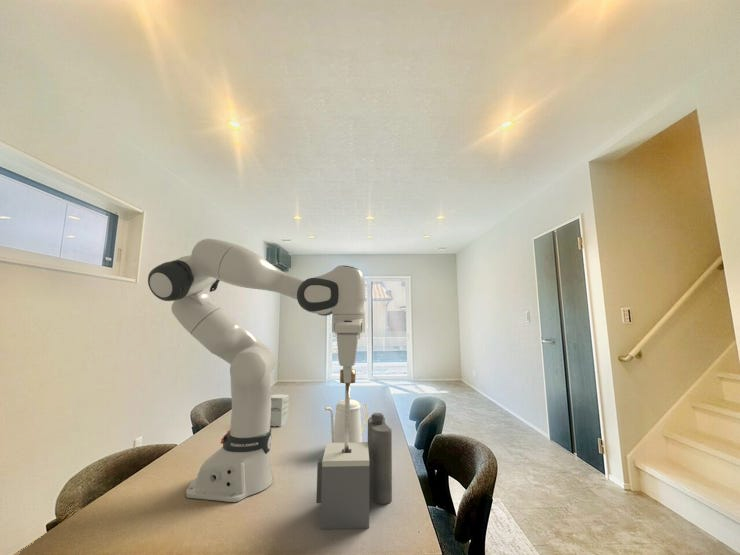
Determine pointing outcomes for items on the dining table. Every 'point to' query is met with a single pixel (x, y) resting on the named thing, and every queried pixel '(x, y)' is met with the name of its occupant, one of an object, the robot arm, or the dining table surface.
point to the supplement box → (279, 409)
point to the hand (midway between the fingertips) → (347, 379)
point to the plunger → (347, 407)
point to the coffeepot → (354, 421)
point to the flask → (380, 459)
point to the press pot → (344, 486)
